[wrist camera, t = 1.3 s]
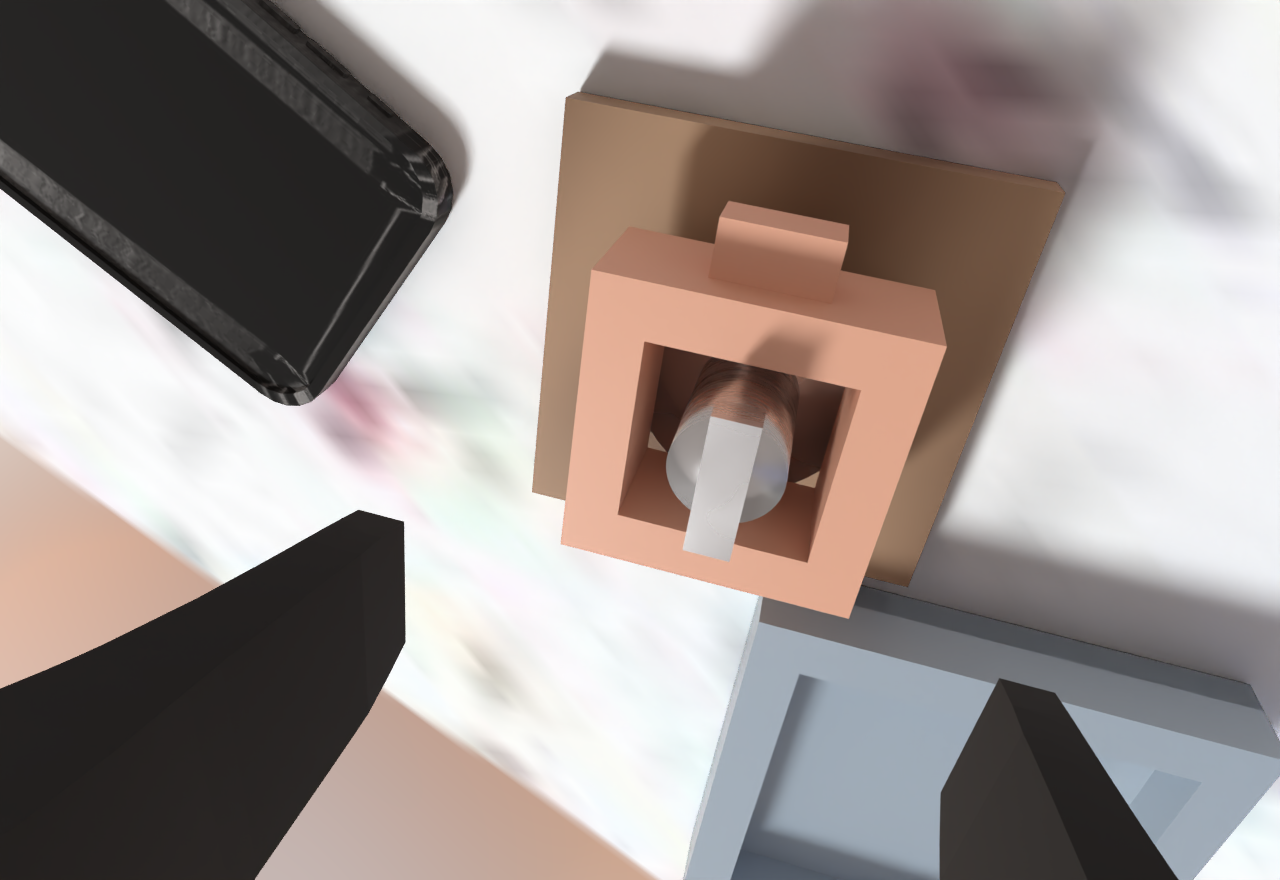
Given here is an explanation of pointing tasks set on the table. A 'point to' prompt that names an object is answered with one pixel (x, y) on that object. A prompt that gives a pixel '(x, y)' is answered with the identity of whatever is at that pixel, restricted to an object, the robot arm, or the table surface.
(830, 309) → the ring
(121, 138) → the phone
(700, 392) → the grey stepped cylinder
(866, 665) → the tray
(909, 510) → the base
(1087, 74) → the table surface
